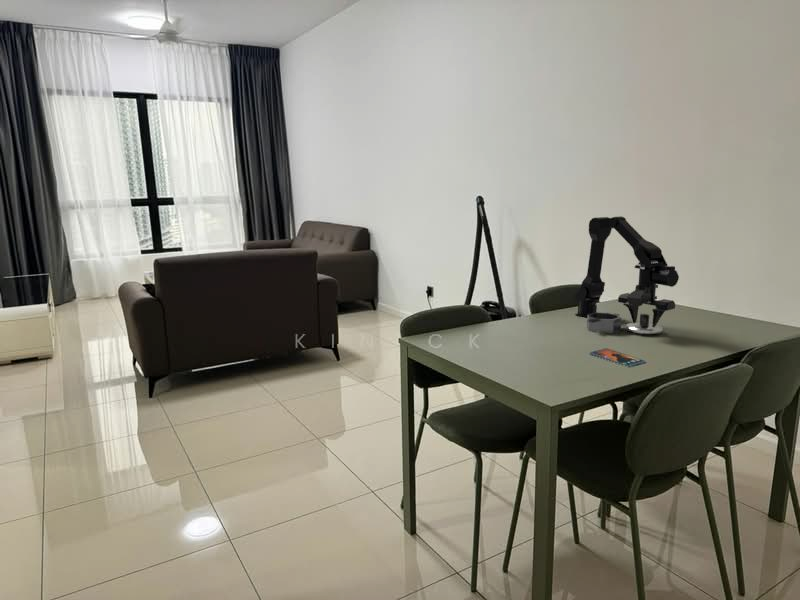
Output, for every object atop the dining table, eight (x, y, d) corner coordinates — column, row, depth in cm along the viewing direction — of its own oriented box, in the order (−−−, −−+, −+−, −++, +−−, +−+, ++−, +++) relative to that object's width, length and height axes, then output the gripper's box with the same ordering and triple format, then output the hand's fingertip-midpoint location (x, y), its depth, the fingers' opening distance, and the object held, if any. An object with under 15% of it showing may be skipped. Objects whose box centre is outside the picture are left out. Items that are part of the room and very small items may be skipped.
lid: (618, 331, 203) (619, 314, 202) (637, 326, 210) (639, 309, 208) (649, 338, 193) (651, 320, 192) (668, 332, 200) (670, 315, 199)
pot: (577, 329, 206) (577, 316, 205) (603, 323, 215) (604, 310, 214) (603, 336, 197) (604, 322, 196) (629, 328, 206) (630, 315, 205)
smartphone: (628, 366, 164) (588, 352, 177) (628, 370, 165) (588, 356, 177) (647, 360, 168) (606, 346, 181) (646, 364, 169) (606, 350, 181)
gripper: (610, 281, 201) (607, 323, 204) (659, 288, 186) (656, 334, 189) (628, 277, 207) (625, 318, 210) (677, 284, 192) (673, 328, 195)
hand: (644, 325), depth 201 cm, fingers open, 7 cm apart
